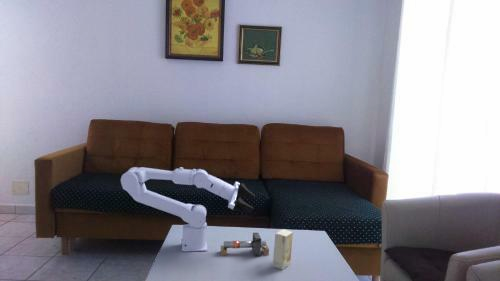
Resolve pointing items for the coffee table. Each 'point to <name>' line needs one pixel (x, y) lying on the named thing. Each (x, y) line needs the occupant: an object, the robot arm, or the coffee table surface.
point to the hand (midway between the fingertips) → (253, 204)
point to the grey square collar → (257, 244)
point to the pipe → (243, 246)
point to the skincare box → (282, 249)
